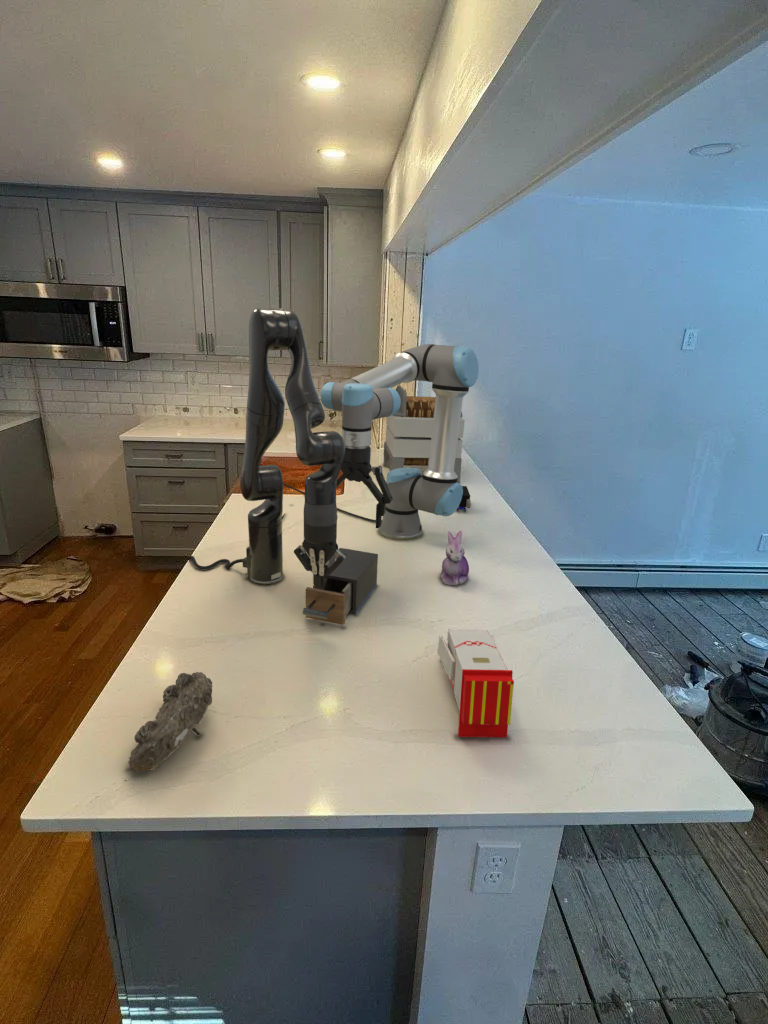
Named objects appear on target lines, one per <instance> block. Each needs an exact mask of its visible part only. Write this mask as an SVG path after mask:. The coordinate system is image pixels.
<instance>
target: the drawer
mask: <svg viewBox="0 0 768 1024" xmlns="http://www.w3.org/2000/svg"><path fill="white" fill-rule="evenodd" d="M352 607H353V583H351V582H346V581H340V580H335V579H330V578H327V583H326V585H325V586H324V587H323V588H322V589H316V588H315V586H314V584H313V585H312V587H311V586H310V587H309V586H307V587H306V588H305V607H303V608H302V615H303V616H305V618H307V619H312V620H317V621H322V622H326V623H330V624H336V625H341V626H344V625H345V624H346V616H347V615H349V613H348V612H349V611H350V610H351V608H352Z"/></svg>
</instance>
